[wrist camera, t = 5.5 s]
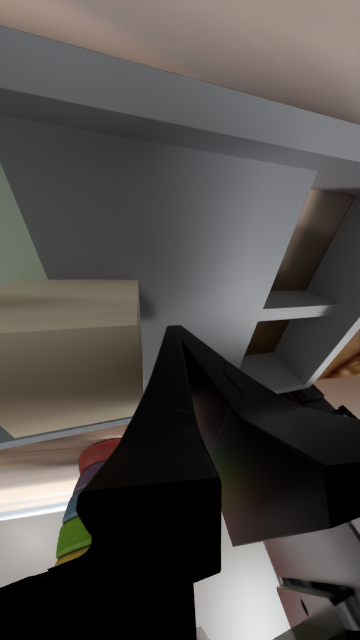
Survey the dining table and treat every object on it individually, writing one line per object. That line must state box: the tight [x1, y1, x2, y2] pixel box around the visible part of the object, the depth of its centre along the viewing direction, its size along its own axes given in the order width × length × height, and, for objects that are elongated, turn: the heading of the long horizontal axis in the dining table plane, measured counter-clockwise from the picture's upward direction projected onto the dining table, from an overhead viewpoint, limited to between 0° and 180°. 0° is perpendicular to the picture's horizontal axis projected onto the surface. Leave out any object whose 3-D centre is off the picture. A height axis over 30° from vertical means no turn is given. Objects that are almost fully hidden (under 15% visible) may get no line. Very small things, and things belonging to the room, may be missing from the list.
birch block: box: [0, 280, 145, 438], centre depth 7 cm, size 5×5×4 cm
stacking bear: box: [55, 439, 121, 566], centre depth 17 cm, size 11×10×18 cm
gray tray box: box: [0, 25, 360, 450], centre depth 10 cm, size 17×29×4 cm, turn 86°
